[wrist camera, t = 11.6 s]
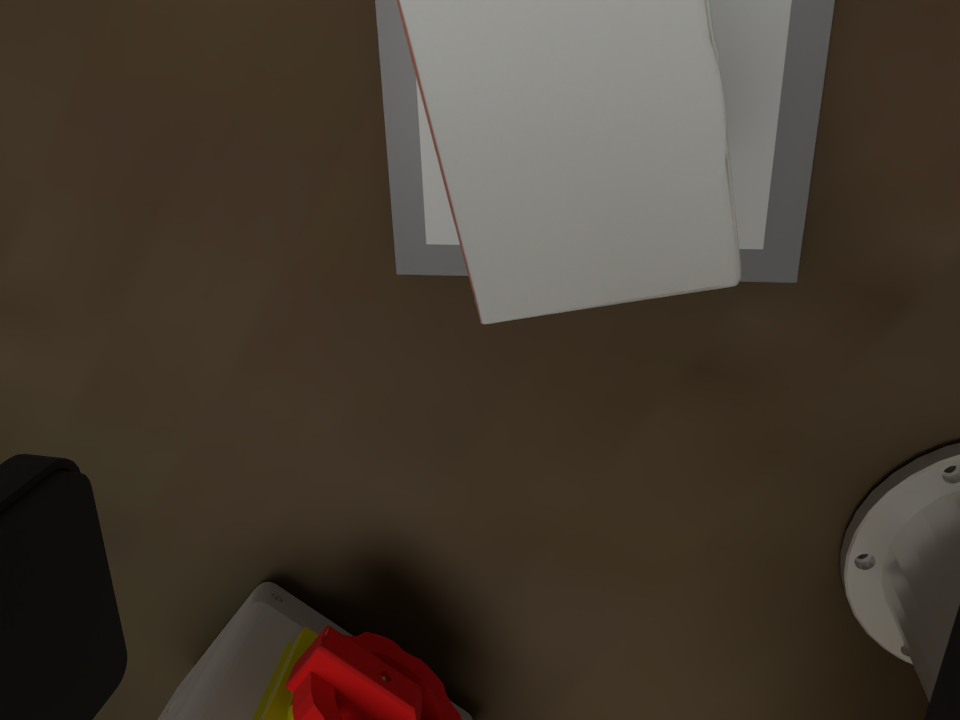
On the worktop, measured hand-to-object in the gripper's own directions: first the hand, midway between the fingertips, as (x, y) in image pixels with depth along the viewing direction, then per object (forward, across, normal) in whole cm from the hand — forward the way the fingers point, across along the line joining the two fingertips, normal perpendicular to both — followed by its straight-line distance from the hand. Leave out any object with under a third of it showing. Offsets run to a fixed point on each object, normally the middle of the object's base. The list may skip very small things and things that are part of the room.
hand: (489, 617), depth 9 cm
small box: (+24, 0, -4) cm, 25 cm away
